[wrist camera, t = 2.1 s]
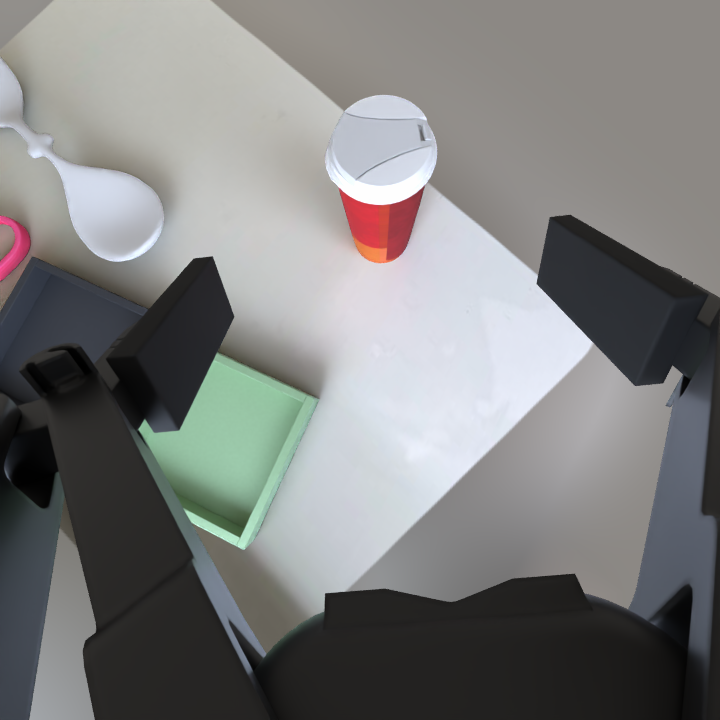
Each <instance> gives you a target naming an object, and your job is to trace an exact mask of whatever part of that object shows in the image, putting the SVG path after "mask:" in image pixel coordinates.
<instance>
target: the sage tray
mask: <svg viewBox="0 0 720 720" xmlns="http://www.w3.org/2000/svg"><path fill="white" fill-rule="evenodd" d="M318 401H319V399H318V398H316V397H314V396H312V395H310V394H307V393H305V392H303V391H301V390H299V389H297V388H294V387H292V386H290V385H288V384H286V383H284V382H282V381H279V380H277V379H275V378H273V377H271V376H269V375H266V374H264V373H262V372H260V371H258V370H256V369H253V368H251V367H249V366H247V365H245V364H243V363H241V362H238V361H236V360H234V359H232V358H230V357H228V356H225V355H223V354H221V353H219V352H217V354H216V356H215V358H214V360H213V362H212V364H211V366H210V368H209V370H208V372H207V375H206V377H205V379H204V381H203V383H202V385H201V387H200V389H199V391H198V393H197V395H196V397H195V399H194V401H193V404H192V406H191V408H190V410H189V412H188V414H187V416H186V418H185V420H184V422H183V424H182V426H181V428H180V430H179V431H170V432H160V433H154V432H153V431H152V429H151V427H150V426H149V424H148V423H147V421H146V420H144V421H143V423H142V425H141V426H140V428H139V431H140V432H141V434H142V435H143V437H144V438H145V440H146V442H147V444H148V445H149V447H150V449H151V451H152V453H153V455H154V456H155V458H156V460H157V462H158V464H159V465H160V467H161V469H162V471H163V473H164V474H165V476H166V478H167V480H168V482H169V483H170V485H171V487H172V489H173V491H174V492H175V494H176V496H177V498H178V500H179V501H180V503H181V505H182V507H183V509H184V511H185V512H186V514H187V516H188V518H189V520H190V521H191V522H192V523H193V524H195V525H197V526H199V527H201V528H203V529H205V530H207V531H209V532H211V533H212V534H214V535H216V536H218V537H220V538H222V539H224V540H226V541H228V542H230V543H231V544H233V545H235V546H236V545H237V547H239V548H241V549H243V550H244V549H245V548H246V547H247V546H248V545H249V544H250V543H251V542H252V541H253V540H254V539H255V537H256V535H257V532H258V530H259V528H260V526H261V524H262V522H263V520H264V517H265V515H266V513H267V511H268V509H269V507H270V505H271V502H272V500H273V498H274V496H275V494H276V492H277V489H278V487H279V485H280V483H281V481H282V479H283V477H284V474H285V472H286V470H287V468H288V466H289V464H290V461H291V459H292V457H293V455H294V453H295V451H296V449H297V446H298V444H299V442H300V440H301V438H302V436H303V434H304V431H305V429H306V427H307V425H308V423H309V421H310V418H311V416H312V414H313V412H314V410H315V408H316V406H317V403H318Z"/></svg>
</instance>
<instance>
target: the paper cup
mask: <svg viewBox="0 0 720 720" xmlns="http://www.w3.org/2000/svg"><path fill="white" fill-rule="evenodd" d="M436 160H437V144H436V140H435V137H434V134H433V132H432V130H431V128H430V126H429V125H428V124H427V118H426V116H425V115H424V114H423V112H422V111H421V110H420V109H419V108H418V107H417V106H415V105H414V104H413V103H411V102H410V101H408V100H405V99H403V98H400V97H397V96H391V95H376V96H371V97H367V98H364V99H362V100H360V101H358V102H356V103H354V104H353V105H351V106H350V107H349V108H348V109H346V110H345V112H344V113H343V114H342V116H341V118H340V119H339V121H338V123H337V125H336V127H335V130H334V131H333V133H332V135H331V138H330V140H329V144H328V147H327V150H326V153H325V164H326V168H327V172H328V174H329V176H330V179H331V180H332V181H333V182H334V183H335V184H336V185H337V186H338V187H339V191H340V194H341V198H342V201H343V205H344V208H345V212H346V215H347V219H348V222H349V226H350V229H351V232H352V236H353V239H354V242H355V245H356V247H357V249H358V251H359V252H360V254H361V255H362V256H363V257H364V258H366V259H367V260H369V261H372V262H375V263H387V262H390V261H393V260H395V259H396V258H398V257H399V256H400V255H401V254H402V253H403V251H404V250H405V248H406V246H407V244H408V241H409V238H410V235H411V232H412V228H413V225H414V222H415V218H416V215H417V212H418V209H419V206H420V202H421V198H422V194H423V190H424V187H425V184H426V183H427V181H428V180H429V178H430V177H431V175H432V173H433V170H434V168H435V165H436Z"/></svg>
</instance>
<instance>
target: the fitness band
mask: <svg viewBox="0 0 720 720" xmlns="http://www.w3.org/2000/svg"><path fill="white" fill-rule="evenodd" d="M0 224H6V225H9V226H11V227H12V228H13V230H14V233H15V243H14V246H13V248H12V249H11V251H10V252H9V253H8V254H7V255H6V256H5V257H4V258H3V259H2V260H1V261H0V281H1V280H3V279H4V278H5V277H6V276H7V275H8V274H9V273H10V272H11V271H12V270H13V269H14V268H15V267H16V266H17V265H18V264H19V263H20V262H21V261H22V260H23V259H24V257H25V256H26V254H27V253H28V251H29V248H30V237H29V234H28V232H27V230H26V229H25V228H24V227H23V226H22V225H21V224H19V223H18V222H16V221H15V220H13V219H11V218H8V217H5V216H0Z"/></svg>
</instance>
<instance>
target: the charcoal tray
mask: <svg viewBox="0 0 720 720" xmlns="http://www.w3.org/2000/svg"><path fill="white" fill-rule="evenodd" d="M148 310H149V309H147V308H145V307H143V306H140V305H138V304H136V303H134V302H132V301H130V300H127V299H125V298H123V297H121V296H119V295H116V294H114V293H112V292H110V291H108V290H106V289H103V288H101V287H99V286H97V285H95V284H93V283H90V282H88V281H86V280H84V279H82V278H80V277H77V276H75V275H73V274H71V273H69V272H67V271H64V270H62V269H60V268H58V267H56V266H53V265H51V264H49V263H47V262H44V261H42V260H40V259H38V258H35V257H32V258H31V260H30V261H29V263H28V265H27V267H26V268H25V270H24V272H23V273H22V275H21V277H20V279H19V280H18V282H17V284H16V286H15V287H14V289H13V291H12V293H11V294H10V296H9V298H8V300H7V301H6V303H5V305H4V307H3V308H2V310H1V312H0V394H2V393H3V394H5V395H7V396H8V397H9V398H10V399H11V400H12V401H13V402H14V403H15V405H16V406H19V405H22V404H26V403H29V402H33V401H36V400H39V399H41V397H40V396H39V395H38V393H37V392H36V391H35V390H34V389H33V388H32V386H31V385H30V384H29V383H28V382H27V381H26V379H25V378H24V377H23V376H22V375H21V374H20V372H19V369H20V366H21V365H22V364H23V363H24V362H25V361H26V360H27V359H28V358H30V357H32V356H33V355H35V354H36V353H38V352H40V351H43V350H45V349H47V348H50V347H53V346H56V345H59V344H65V343H77V344H79V345H80V346H81V347H82V348H83V350H84V351H85V353H86V354H87V355H88V357H89V358H90V360H91V361H92V363H93V364H94V363H95V362H96V361H97V360H98V359H99V358H100V357H101V356H102V354H103V353H104V352H105V351H106V350H107V349H110V346H111V344H112V343H113V342H114V341H117V338H118V337H119V336H120V335H121V333H122V332H123V331H124V330H125V329H127V328H128V327H130V326H131V325H133V324H134V323H136V322H137V321H139V320H140V319H141V318H142V317H143V316H144V314H145V313H146V312H147V311H148Z"/></svg>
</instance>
